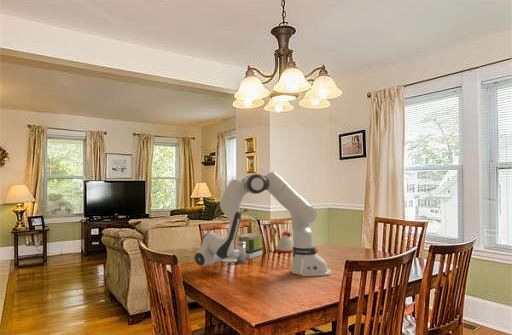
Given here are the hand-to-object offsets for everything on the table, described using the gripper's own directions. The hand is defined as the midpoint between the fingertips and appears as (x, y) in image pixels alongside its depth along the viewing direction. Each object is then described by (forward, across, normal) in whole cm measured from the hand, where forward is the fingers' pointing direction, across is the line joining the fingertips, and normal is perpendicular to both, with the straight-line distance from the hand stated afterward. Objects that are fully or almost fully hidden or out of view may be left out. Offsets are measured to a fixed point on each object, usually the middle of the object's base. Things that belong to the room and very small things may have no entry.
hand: (230, 249), depth 208 cm
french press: (+14, 0, +10) cm, 17 cm away
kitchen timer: (+59, -11, +10) cm, 61 cm away
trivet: (+14, +9, +10) cm, 19 cm away
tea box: (+31, +4, +10) cm, 33 cm away
